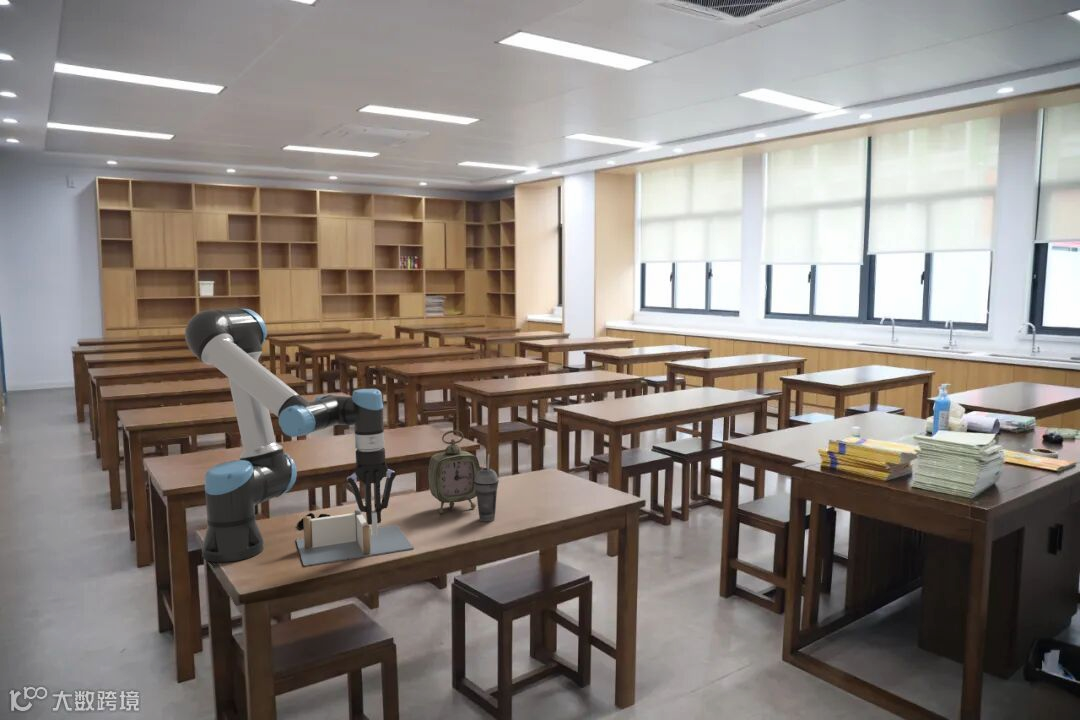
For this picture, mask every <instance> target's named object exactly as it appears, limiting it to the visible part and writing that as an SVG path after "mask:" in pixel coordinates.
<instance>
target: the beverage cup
mask: <svg viewBox="0 0 1080 720" xmlns="http://www.w3.org/2000/svg"><path fill="white" fill-rule="evenodd" d="M486 462H487V464H486V467H485V468H482V469H481V468H480V471H479V472H478V473H477V474H476V477H475V482H474V483H475V488H476V492H477V496H476V497H477V498H476V499H477V508H478V511H477V512H478V516H479V517H478V518H479V521H480V520H481V522H483V521H490V522H493V520H494V519H496V510H497V509H496V508H497V495H498V486H499V483H500V481H499V480H500V479H499V476H498V474H497V472H496V471H495V470H494V469H492V468H490V453H489V454H487V460H486ZM494 521H495V520H494Z"/></svg>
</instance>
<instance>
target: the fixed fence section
mask: <svg viewBox="0 0 1080 720" xmlns="http://www.w3.org/2000/svg"><path fill="white" fill-rule="evenodd" d="M356 515H363V512H361V511H360V509H359V508H358V509H355V510H354V513H346V514H345V513H344V514H338V515H330V516H329V517H322V518H317V517H315V518H314V519H311V517H310V516H306V515H305V516H303V518H302V519H303V525H304V530H303V538H304V546H305V548H311V547H317V546H324V545H330V544H337V543H344V542H350V541H356V540H357V519H356ZM357 541H358V540H357Z"/></svg>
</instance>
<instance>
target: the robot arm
mask: <svg viewBox="0 0 1080 720" xmlns="http://www.w3.org/2000/svg"><path fill="white" fill-rule="evenodd" d="M267 336H268V331H267V326H266V323H265V321H264V319H263V318H262V316H261V315H259V313H257V312H255V311H254V310H252V309H249V308H239V307H235V308H223V309H206V310H201V311H199V312H197V313H196V314H194V315H193V316H192V317H191V318H190V319H189V320H188V322H187V323H186V327H185V331H184V339H185V341H186V345H187V347H188V349H189V351H190V352H192V354H193V355H194V356H195V357H196V358H197V359H198V360H200V361H201V362H202V363H203V364H205V365H207V366H214V367H215V368H216V369H218V370H219V371H220V372H221V373H223V375H225V376H226V377H227V378H228V383H229V388H230V393H231V397H232V402H233V406H234V411H235V415H236V421H237V425H238V428H239V434H240V439H241V443H242V447H243V451H242V452H241V453H240V455H239V460H238V459H237V460H230V461H228V462H222V463H219V464H216V465H214V466H212V467H211V468H209V469H208V470H207V471H206V473H205V476H204V492H205V493H204V494H205V495H204V496H205V504H206V506H205V508H206V518H207V522H206V523H207V528H206V532H205V534H204V539H203V542H202V546H201V557H202V559H203V560H205V561H207V562H212V563H231V562H237V561H241V560H242V561H243V560H246V559H248V558H249V559H250V558H251V557H254V556H256V555H258V554H260V553H262V552H263V550H264V547H265V544H264V538H263V535H262V533H261V531H260V529H259V526H258V523H257V521H256V514H255V513H256V511H255V510H256V508H255V506H257V505H260V504H262V503H264V502H267V501H269V500H272V499H274V498H279V497H281V496H282V495H284V494H285V493H287V492H288V491H290V490H291V489H292V488H293V486H294V484H295V483H296V481H297V472H298V471H297V466H296V462H295V460H294V459H293V458H291V456H290V455H289V454H288V453H286V452H284V448H283V447H284V446H282V445H281V444H279V443H277V441H276V436H275V433H274V428H273V422H272V417H271V414H270V412H271V413H272V414H273V415H275V416H276V417H277V418H278V425H279V427H280V429H281V431H282V432H283V434H285V435H286V436H288V437H292V438H293V437H295V438H296V437H302V436H306V435H309V434H312V433H314V432H317V431H321V430H324V429H327V428H330V427H334V426H337V425H338V426H339V425H341V426H353V427H354V428H353V430H354V448H355V449H356V450H355V464H356V466H355V468H354V472H353V473H352V474H351V475H347V476H346V479H345V480H346V481H347V482H348V483H349V485H350V486H351V488H352V493H353V495H354V498H355V501H356V504H357V507H358V509H360V511H361V512H362V513H365V516H366V517H365V520H366V521H367V523H368V525H369V526H370V529H371V535H372V536H373V537H378V528H379V527H378V524H380V523H381V522H382V514H381V513H382V510H384V509H387V508H388V506H389V501H390V496H391V491H392V486H393V482H394V479H396V476H397V473H396V472H395V471H394V470H393V469H389V466H387V462H386V448H384V447H385V444H386V443H385V442H386V441H385V430H384V429H385V427H384V402H383V396H382V395H383V394H382V392H381V390H379V389H377V388H361V389H355V390H353V392H352V396H344V395H343V396H342V395H332V394H328V395H327V394H326V395H320V396H317V397H316V398H315V399H314V400H313V401H308V400H306V398H305V397H303V396H301V394H298V392H296V391H295V390H294V389H293V388H291V387H290V386H289V385H288V384H287V383H285V382H284V381H282V379H280V378H278V377H277V376H276V375H275V374H274V373H272V372H271V371H270V370H269V369H268V368H266V366H264V365H262V364H261V363H260V362H259V359H260V357H261V355H262V354H263V350H262V349H263V348H262V346H263V345H264V343H265V342H266V339H267ZM384 477H386V480H385V484H384V487H383V488H384V489H383V493H382V497H381V482H382V480H383V479H384ZM358 479H359V480H360V481H361V482H362V483H363V487H364V489H363V490H364V502H363V500H362V497H361V493H360V491H359V487H358V485H357V482H358ZM372 484H373V498H374V499H373V501H374V509H373V507H372V505H373V504H372V492H371V491H372V490H371V487H372ZM364 504H365V505H364Z"/></svg>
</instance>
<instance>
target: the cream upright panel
mask: <svg viewBox="0 0 1080 720" xmlns="http://www.w3.org/2000/svg"><path fill="white" fill-rule="evenodd" d="M356 519H357V540H358V542H359V544H360V546H361V548H362V550H363V552H364V553H365V554H367V553H370V552H371V549H370V529H371V525H368V523H367V521H366V517H364V515H363V514H362V515H356Z"/></svg>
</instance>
